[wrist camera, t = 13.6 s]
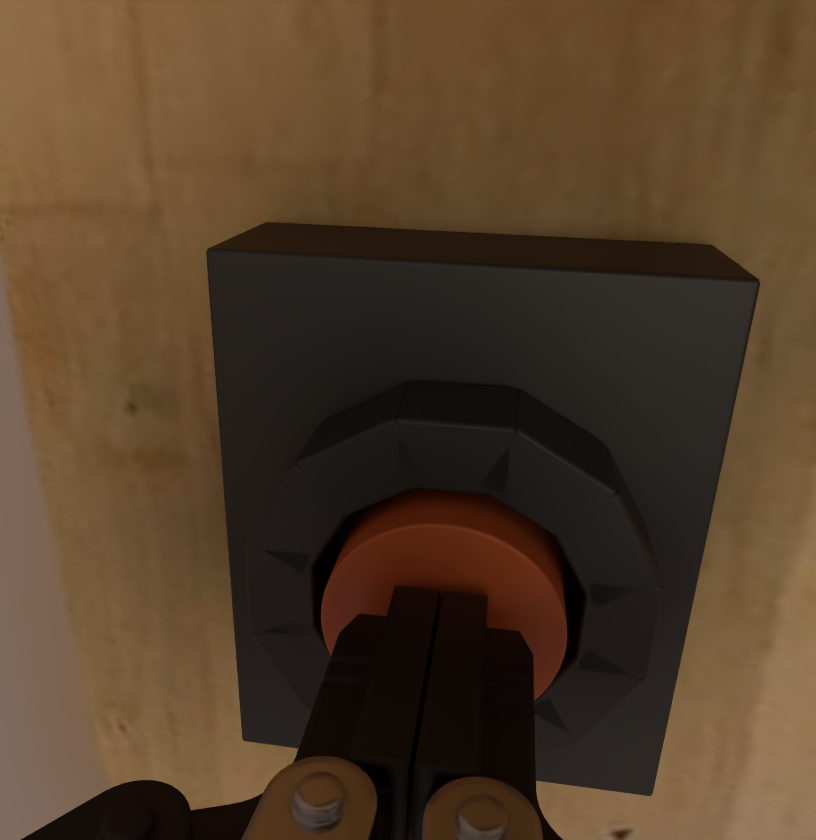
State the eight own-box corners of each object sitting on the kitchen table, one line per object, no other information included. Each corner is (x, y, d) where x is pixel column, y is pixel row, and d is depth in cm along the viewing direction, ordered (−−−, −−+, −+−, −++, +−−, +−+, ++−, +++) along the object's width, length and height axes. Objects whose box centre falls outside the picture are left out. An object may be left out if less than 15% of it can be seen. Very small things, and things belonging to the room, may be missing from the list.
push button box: (263, 221, 16) (156, 269, 11) (714, 244, 15) (801, 307, 10) (282, 648, 20) (210, 810, 15) (632, 690, 19) (667, 877, 14)
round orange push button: (346, 455, 14) (317, 512, 12) (573, 476, 13) (581, 538, 11) (347, 637, 15) (322, 712, 13) (550, 660, 15) (553, 742, 13)
